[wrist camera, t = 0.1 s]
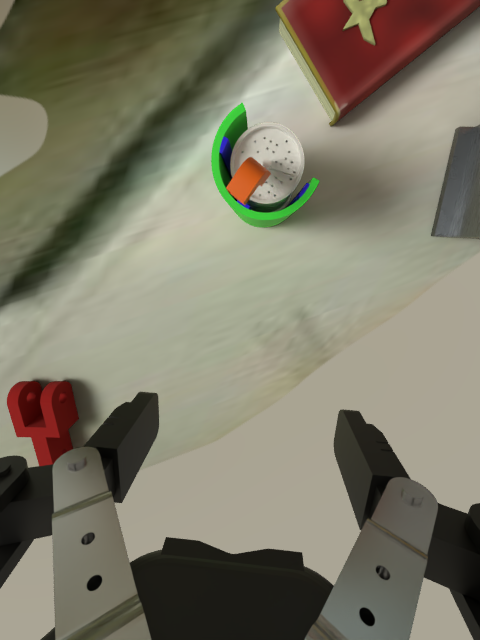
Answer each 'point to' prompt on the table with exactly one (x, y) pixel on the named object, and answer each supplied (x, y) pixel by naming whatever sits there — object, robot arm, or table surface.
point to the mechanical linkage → (44, 417)
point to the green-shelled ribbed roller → (259, 169)
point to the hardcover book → (362, 42)
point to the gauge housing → (461, 188)
